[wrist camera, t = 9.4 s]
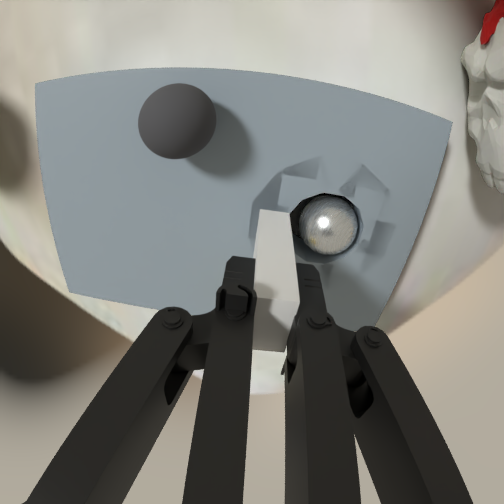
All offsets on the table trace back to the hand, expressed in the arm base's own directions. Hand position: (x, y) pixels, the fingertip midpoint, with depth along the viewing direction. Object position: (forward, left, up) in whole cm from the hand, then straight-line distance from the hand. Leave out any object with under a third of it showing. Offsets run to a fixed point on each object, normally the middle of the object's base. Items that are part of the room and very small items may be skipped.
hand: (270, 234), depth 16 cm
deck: (-3, 0, -4) cm, 5 cm away
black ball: (-5, +6, +1) cm, 7 cm away
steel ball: (+3, 0, -2) cm, 4 cm away
